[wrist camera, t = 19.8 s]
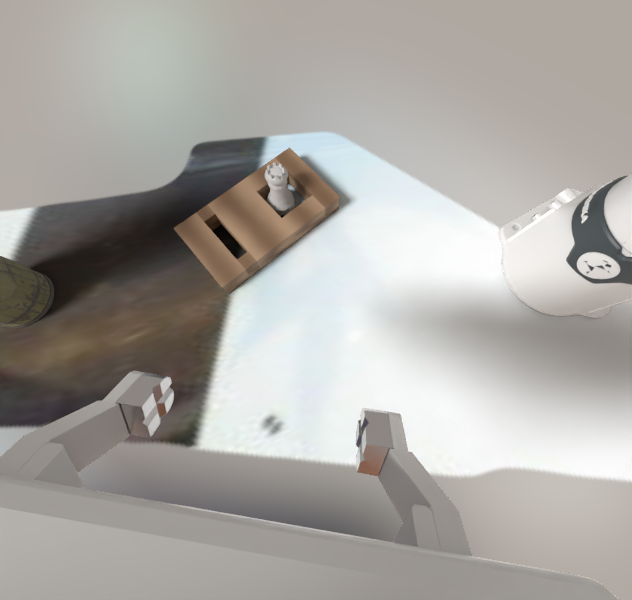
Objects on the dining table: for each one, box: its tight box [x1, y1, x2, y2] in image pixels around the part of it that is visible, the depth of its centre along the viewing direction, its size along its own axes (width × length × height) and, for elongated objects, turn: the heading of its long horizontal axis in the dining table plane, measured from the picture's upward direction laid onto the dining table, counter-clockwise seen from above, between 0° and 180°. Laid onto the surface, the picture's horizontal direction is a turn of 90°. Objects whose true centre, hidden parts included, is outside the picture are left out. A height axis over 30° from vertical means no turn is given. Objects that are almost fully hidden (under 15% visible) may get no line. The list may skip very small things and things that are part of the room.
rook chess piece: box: [264, 162, 295, 216], centre depth 42 cm, size 4×4×8 cm
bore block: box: [173, 148, 340, 294], centre depth 43 cm, size 22×12×3 cm, turn 131°
